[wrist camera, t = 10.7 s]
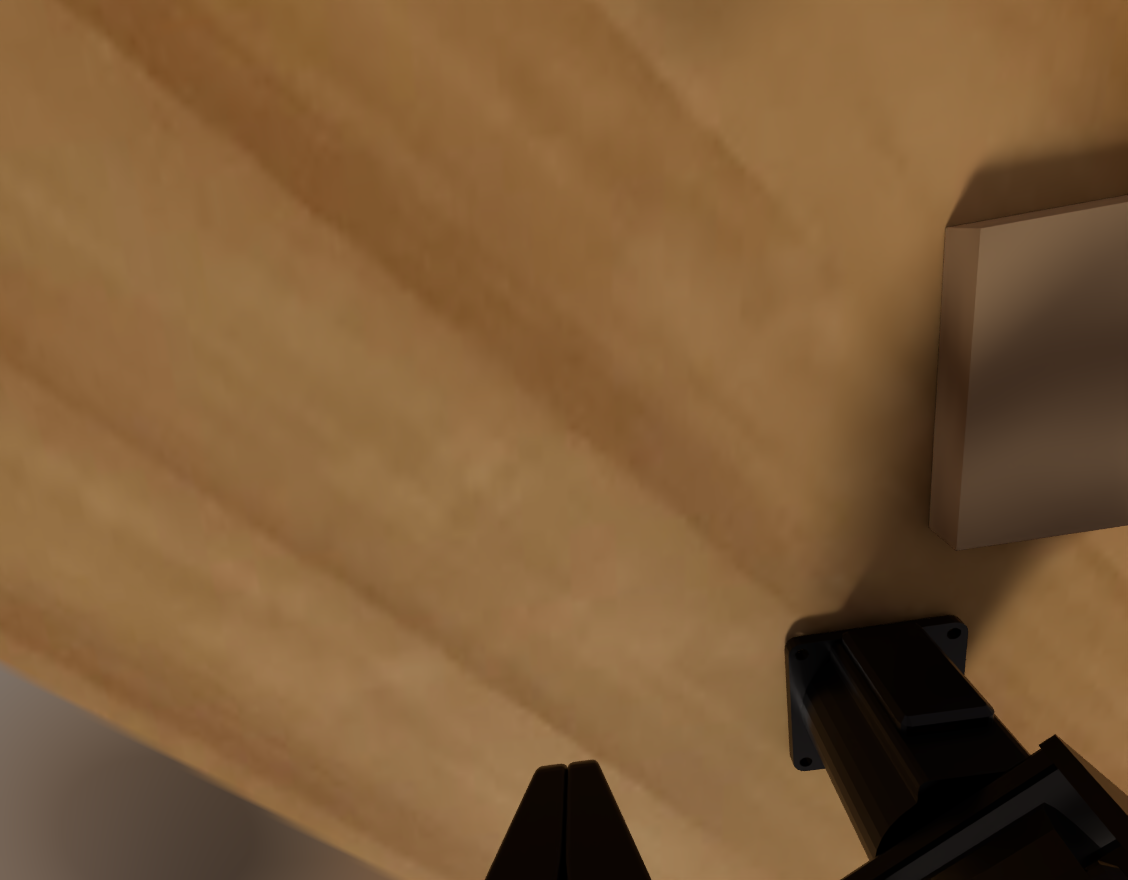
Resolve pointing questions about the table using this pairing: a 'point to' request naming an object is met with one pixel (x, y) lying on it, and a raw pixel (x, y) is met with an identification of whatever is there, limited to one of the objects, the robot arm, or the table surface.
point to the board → (1033, 377)
